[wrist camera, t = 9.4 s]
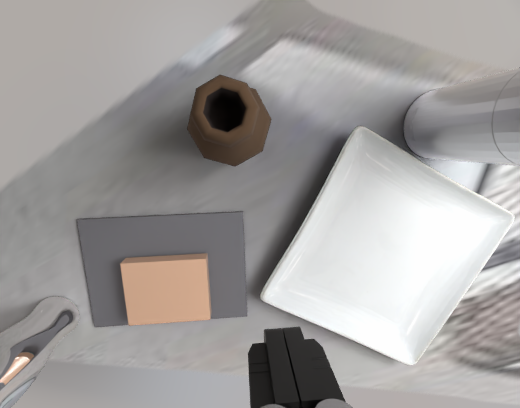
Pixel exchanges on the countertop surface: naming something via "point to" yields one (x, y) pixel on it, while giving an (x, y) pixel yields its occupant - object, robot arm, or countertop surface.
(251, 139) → the beer bottle
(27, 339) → the beer glass
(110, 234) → the mat
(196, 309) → the tile
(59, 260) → the countertop surface
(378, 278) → the square plate
